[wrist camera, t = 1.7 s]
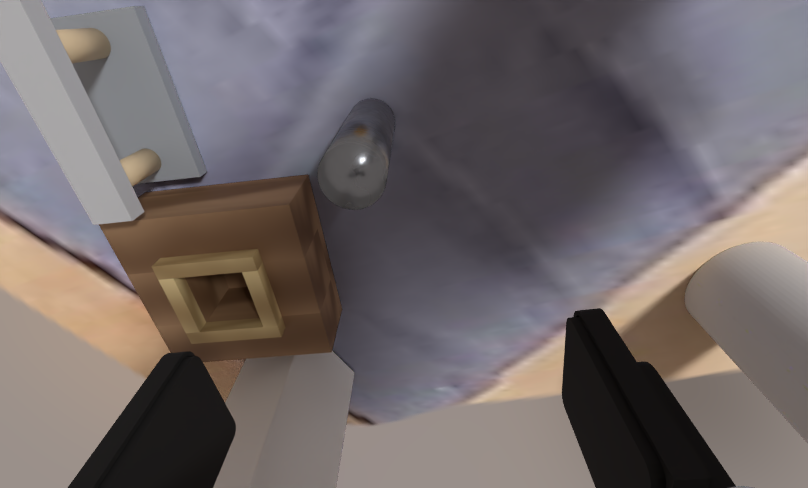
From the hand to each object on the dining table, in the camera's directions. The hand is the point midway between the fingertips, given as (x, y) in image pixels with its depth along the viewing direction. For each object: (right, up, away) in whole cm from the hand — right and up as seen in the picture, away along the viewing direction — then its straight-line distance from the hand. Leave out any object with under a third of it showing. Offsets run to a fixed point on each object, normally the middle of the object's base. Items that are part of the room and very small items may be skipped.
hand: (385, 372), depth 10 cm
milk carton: (-9, -8, +27) cm, 30 cm away
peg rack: (-17, +12, +16) cm, 26 cm away
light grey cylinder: (+27, 0, +22) cm, 35 cm away
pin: (-2, +11, +16) cm, 19 cm away
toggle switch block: (-11, +2, +21) cm, 24 cm away
